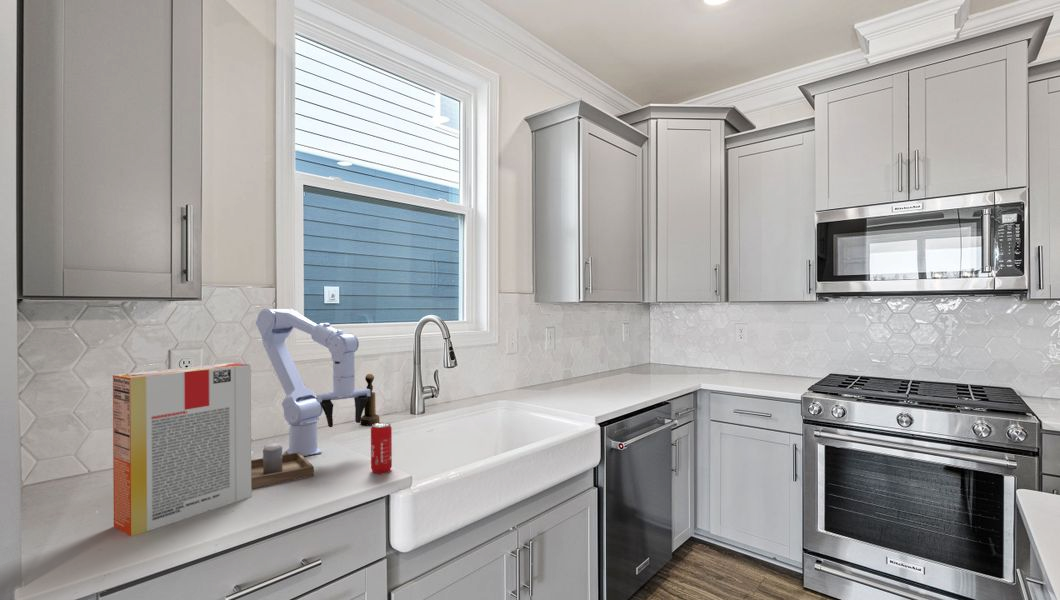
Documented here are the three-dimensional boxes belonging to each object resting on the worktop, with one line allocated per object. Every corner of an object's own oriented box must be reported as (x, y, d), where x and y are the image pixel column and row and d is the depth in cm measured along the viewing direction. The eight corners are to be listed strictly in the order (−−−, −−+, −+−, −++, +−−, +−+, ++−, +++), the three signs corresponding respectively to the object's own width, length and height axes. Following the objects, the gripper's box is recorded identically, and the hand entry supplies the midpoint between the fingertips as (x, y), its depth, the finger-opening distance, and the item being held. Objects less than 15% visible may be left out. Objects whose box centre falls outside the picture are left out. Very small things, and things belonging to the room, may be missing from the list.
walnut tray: (233, 472, 133) (232, 463, 133) (298, 460, 142) (298, 452, 142) (242, 490, 120) (242, 480, 120) (313, 476, 130) (313, 466, 130)
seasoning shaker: (261, 472, 131) (260, 444, 131) (279, 467, 134) (279, 441, 134) (266, 476, 128) (265, 448, 128) (284, 472, 131) (284, 444, 131)
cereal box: (232, 490, 121) (231, 362, 121) (251, 496, 116) (250, 364, 116) (113, 526, 101) (112, 375, 101) (131, 536, 97) (130, 378, 97)
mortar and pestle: (372, 420, 190) (371, 372, 191) (383, 422, 187) (382, 373, 187) (356, 424, 185) (356, 374, 185) (367, 426, 181) (367, 375, 181)
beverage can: (385, 475, 130) (385, 427, 130) (367, 473, 131) (367, 426, 131) (395, 468, 135) (395, 423, 135) (377, 467, 136) (376, 422, 136)
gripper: (321, 380, 138) (321, 431, 138) (374, 375, 146) (374, 423, 146) (314, 377, 143) (314, 426, 143) (365, 373, 152) (366, 418, 152)
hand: (344, 424), depth 145 cm, fingers open, 7 cm apart
